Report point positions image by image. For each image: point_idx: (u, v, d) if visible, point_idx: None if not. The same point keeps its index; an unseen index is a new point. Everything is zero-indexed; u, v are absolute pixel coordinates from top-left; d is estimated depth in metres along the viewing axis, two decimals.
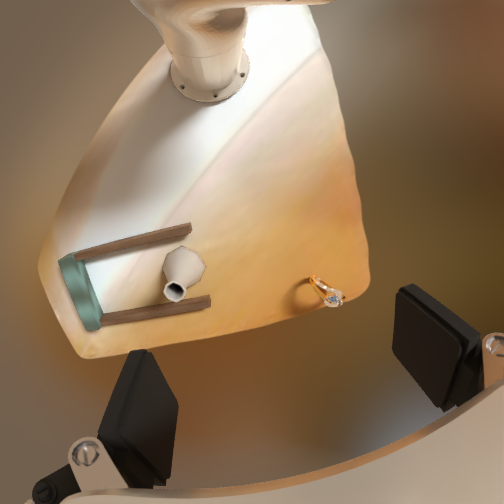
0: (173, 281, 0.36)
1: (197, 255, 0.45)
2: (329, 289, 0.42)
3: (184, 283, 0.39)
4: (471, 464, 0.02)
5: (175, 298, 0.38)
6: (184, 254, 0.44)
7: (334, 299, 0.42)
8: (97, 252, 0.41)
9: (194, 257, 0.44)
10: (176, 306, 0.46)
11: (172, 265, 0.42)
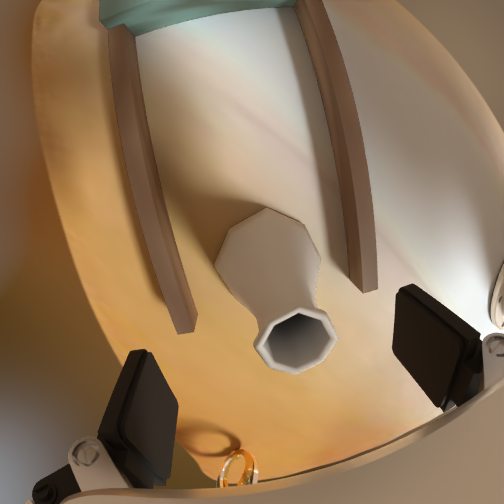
0: (334, 338, 0.10)
1: None
2: None
3: (297, 340, 0.12)
4: (471, 464, 0.02)
5: None
6: None
7: None
8: (329, 46, 0.13)
9: None
10: (168, 251, 0.17)
11: (308, 265, 0.15)
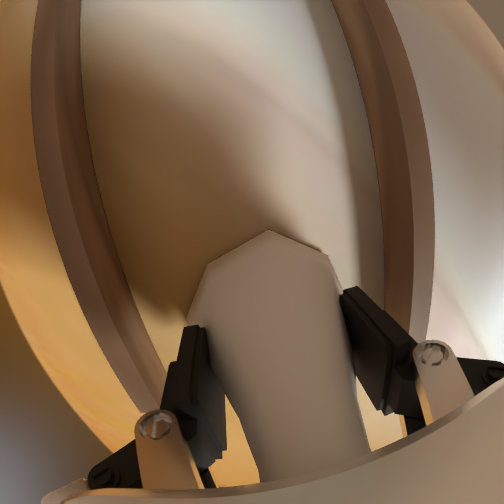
0: None
1: None
2: None
3: None
4: (471, 464, 0.02)
5: None
6: None
7: None
8: None
9: None
10: (110, 304, 0.09)
11: (344, 337, 0.08)
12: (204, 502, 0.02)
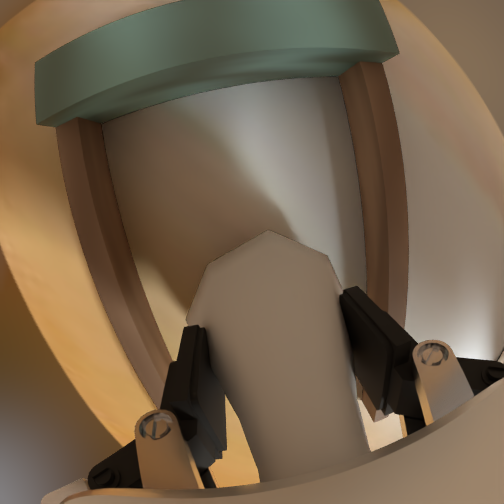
0: None
1: None
2: None
3: None
4: (471, 464, 0.02)
5: None
6: None
7: None
8: (393, 173, 0.11)
9: None
10: None
11: (344, 338, 0.08)
12: (204, 502, 0.02)
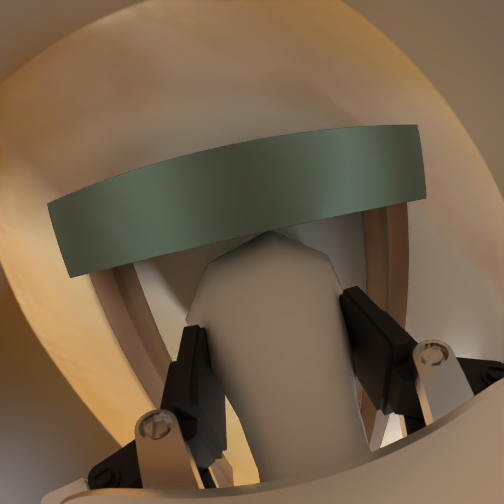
0: None
1: None
2: None
3: None
4: (471, 464, 0.02)
5: None
6: None
7: None
8: (397, 298, 0.12)
9: None
10: None
11: (344, 338, 0.08)
12: (204, 502, 0.02)
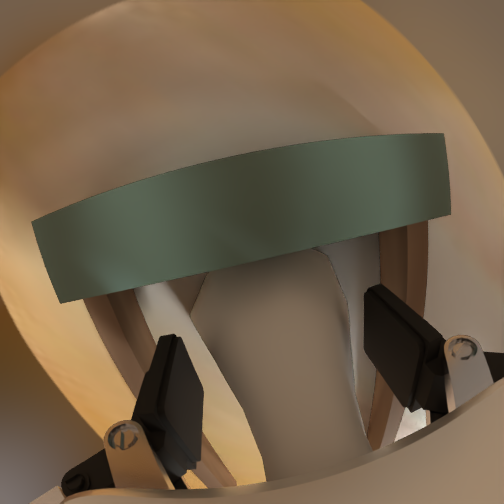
0: None
1: None
2: None
3: None
4: (471, 464, 0.02)
5: None
6: None
7: None
8: None
9: None
10: (218, 477, 0.14)
11: (342, 334, 0.09)
12: (204, 502, 0.02)
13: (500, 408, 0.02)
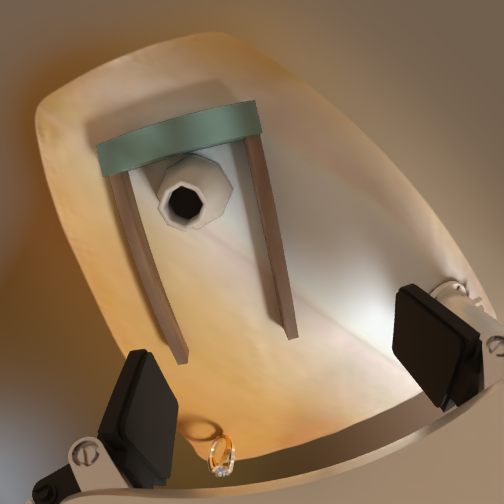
0: (206, 204, 0.17)
1: (217, 216, 0.27)
2: (231, 466, 0.32)
3: (192, 218, 0.19)
4: (471, 464, 0.02)
5: (165, 203, 0.18)
6: (224, 198, 0.25)
7: (221, 472, 0.31)
8: (264, 190, 0.25)
9: (217, 214, 0.26)
10: (170, 321, 0.28)
11: (211, 182, 0.22)
12: (204, 502, 0.02)
13: (500, 408, 0.02)
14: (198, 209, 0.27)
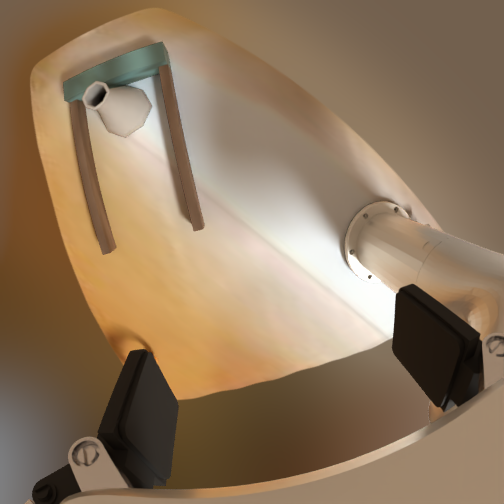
0: (108, 92, 0.21)
1: (139, 126, 0.31)
2: None
3: (104, 107, 0.23)
4: (471, 464, 0.02)
5: (87, 97, 0.21)
6: (141, 109, 0.29)
7: None
8: (168, 100, 0.29)
9: (136, 121, 0.30)
10: (98, 211, 0.32)
11: (128, 94, 0.26)
12: (204, 502, 0.02)
13: (500, 408, 0.02)
14: None
